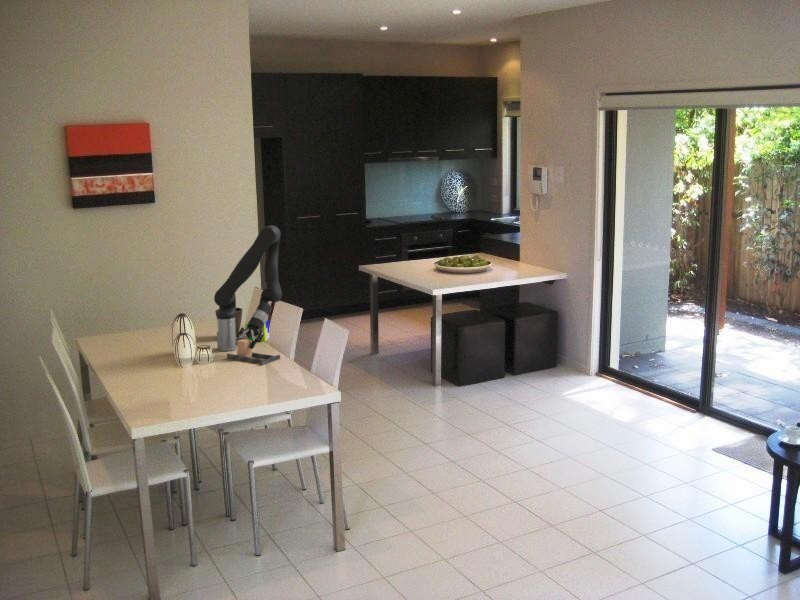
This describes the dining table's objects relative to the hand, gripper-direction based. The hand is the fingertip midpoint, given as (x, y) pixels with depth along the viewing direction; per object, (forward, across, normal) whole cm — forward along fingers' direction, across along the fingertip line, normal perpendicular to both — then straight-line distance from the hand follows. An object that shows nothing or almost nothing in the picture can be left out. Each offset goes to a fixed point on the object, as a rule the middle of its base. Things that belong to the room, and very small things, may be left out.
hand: (244, 347), depth 423 cm
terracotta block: (+4, 0, +4) cm, 5 cm away
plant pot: (-19, -41, +30) cm, 54 cm away
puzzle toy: (-22, -24, +33) cm, 46 cm away
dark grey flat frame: (+5, +5, +5) cm, 9 cm away
